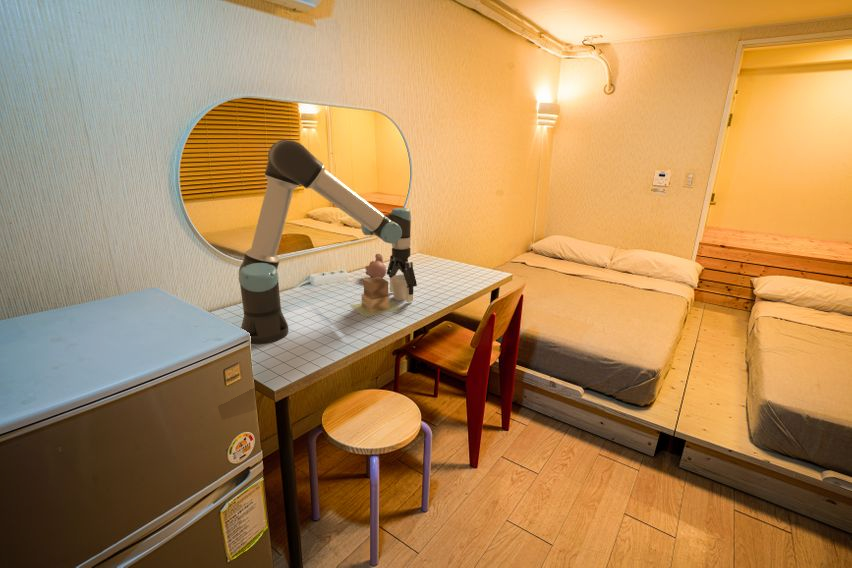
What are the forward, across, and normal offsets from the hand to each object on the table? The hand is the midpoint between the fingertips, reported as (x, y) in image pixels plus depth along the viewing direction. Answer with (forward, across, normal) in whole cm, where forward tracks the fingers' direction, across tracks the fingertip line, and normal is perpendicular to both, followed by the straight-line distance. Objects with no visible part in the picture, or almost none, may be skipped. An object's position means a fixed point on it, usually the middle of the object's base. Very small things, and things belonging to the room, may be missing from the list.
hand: (401, 296), depth 173 cm
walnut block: (-5, -4, +14) cm, 15 cm away
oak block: (0, -4, +14) cm, 15 cm away
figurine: (+2, +31, -4) cm, 31 cm away
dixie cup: (+2, 0, 0) cm, 2 cm away
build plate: (+2, -4, +14) cm, 15 cm away
